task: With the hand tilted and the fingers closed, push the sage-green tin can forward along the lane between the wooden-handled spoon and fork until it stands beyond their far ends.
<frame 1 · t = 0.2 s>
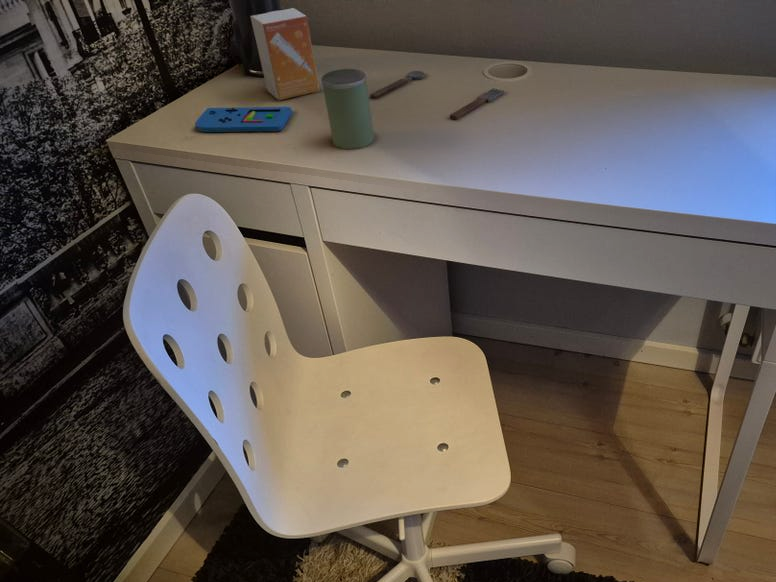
can: (353, 140, 107), on the table
handheld gaming device: (244, 122, 114), on the table
small box: (294, 92, 124), on the table
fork: (476, 105, 117), on the table
spoon: (398, 85, 124), on the table
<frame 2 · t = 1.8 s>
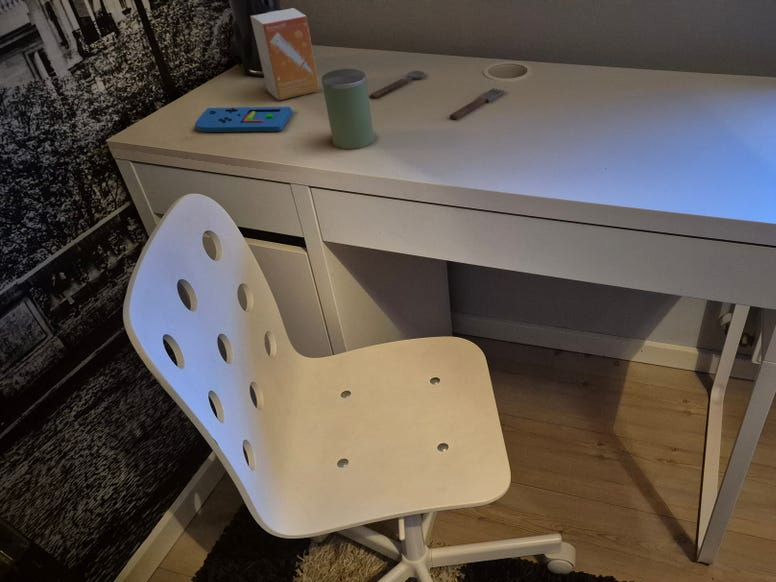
hand: (290, 0, 88), 22 cm above the table, tool pointing down, fingers open, 8 cm apart
nothing on the table moved.
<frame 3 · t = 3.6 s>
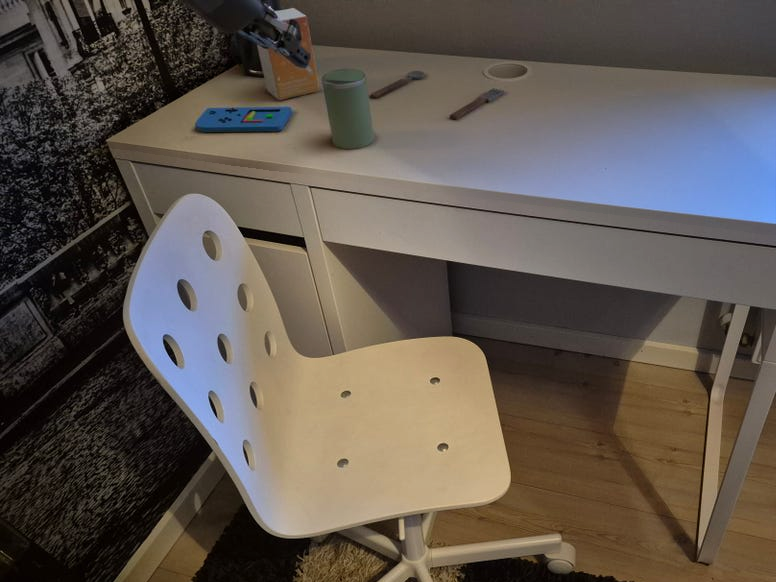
hand: (304, 61, 93), 14 cm above the table, tool tilted 45°, fingers closed
nothing on the table moved.
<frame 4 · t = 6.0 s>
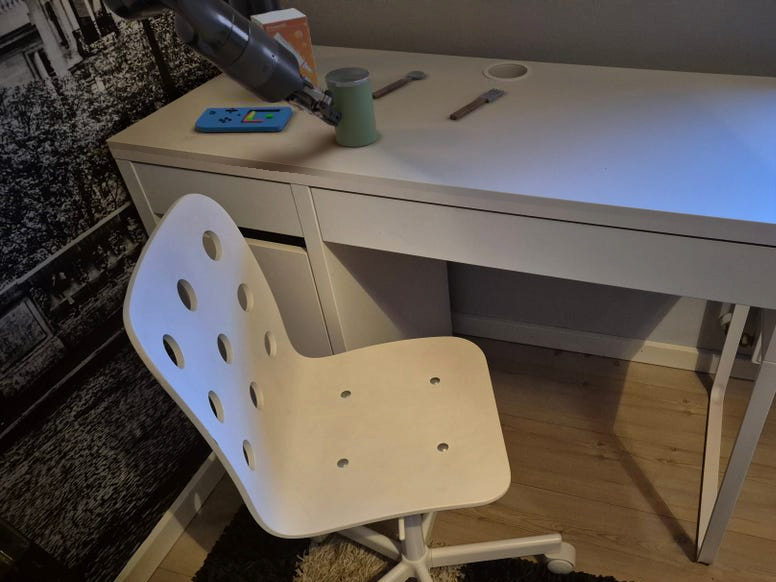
hand: (336, 120, 102), 4 cm above the table, tool tilted 45°, fingers closed
can: (357, 138, 108), on the table, touching gripper
everything else where it was.
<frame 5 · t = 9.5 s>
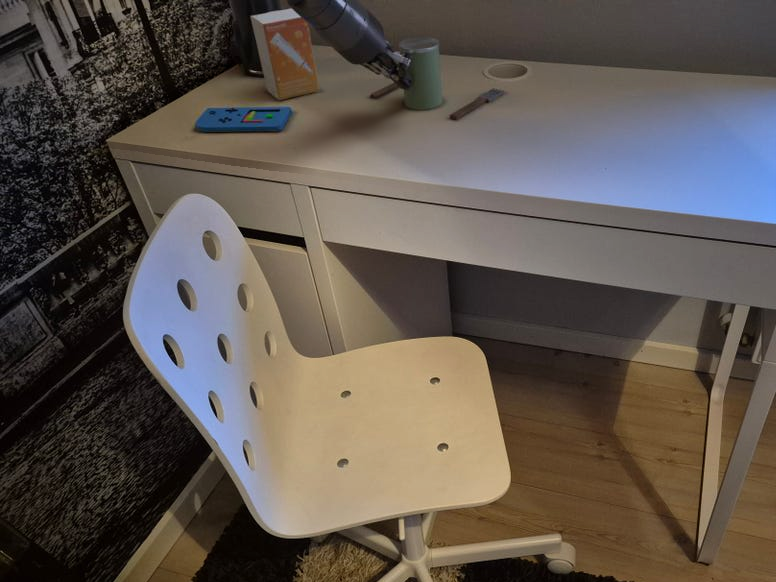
hand: (407, 84, 113), 4 cm above the table, tool tilted 45°, fingers closed
can: (423, 102, 118), on the table, touching gripper
everything else where it was.
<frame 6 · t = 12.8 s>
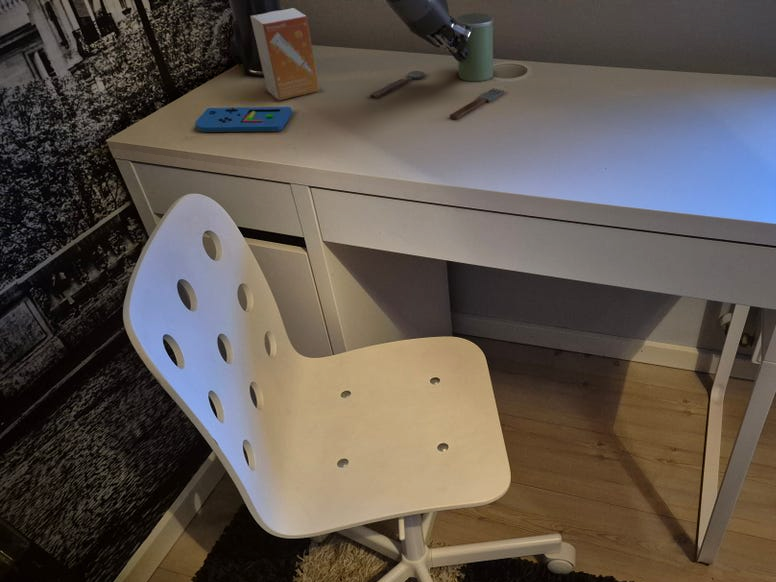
hand: (463, 56, 122), 4 cm above the table, tool tilted 45°, fingers closed
can: (476, 75, 127), on the table, touching gripper
everything else where it was.
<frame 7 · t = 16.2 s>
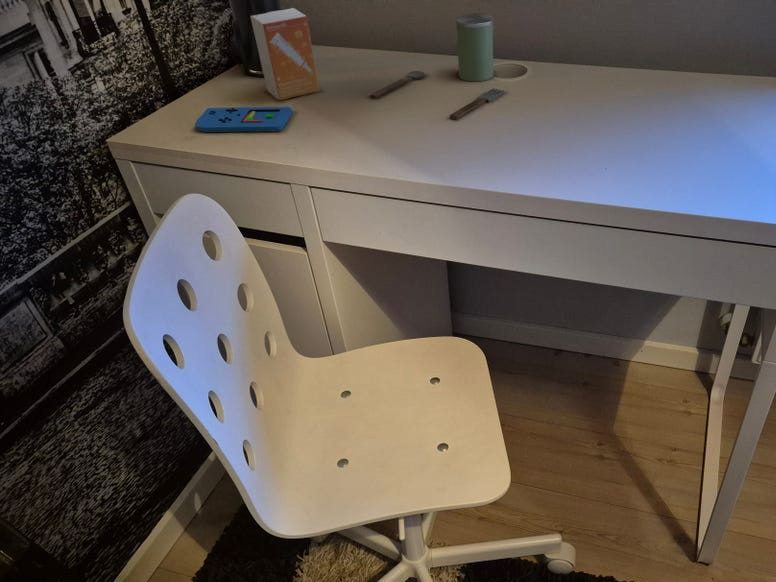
can: (476, 75, 127), on the table
everything else where it was.
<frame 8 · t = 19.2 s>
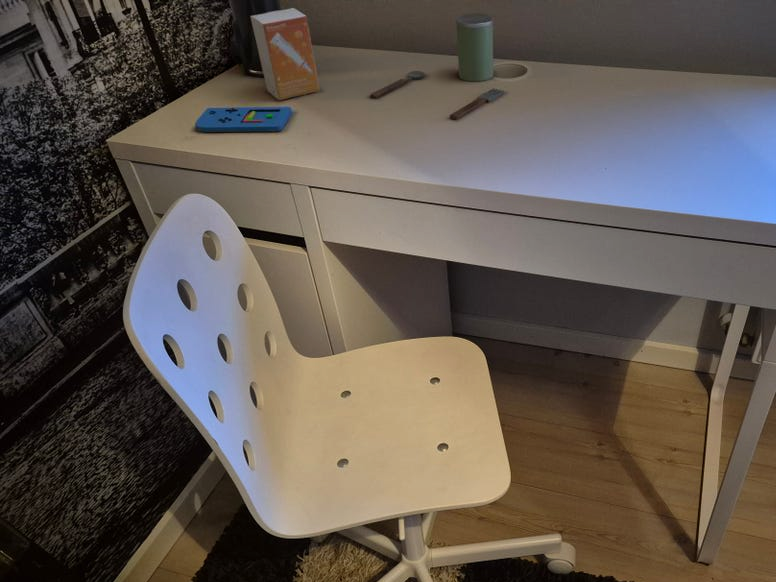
nothing on the table moved.
at the end: can inside the target area on the table beside the spoon (2.8 cm from its centre), on the table; can tilted 0° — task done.
